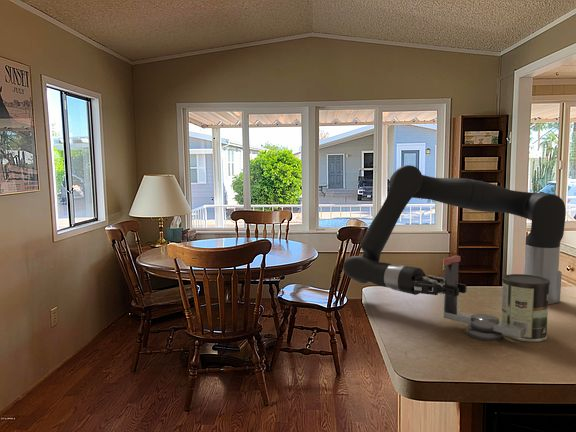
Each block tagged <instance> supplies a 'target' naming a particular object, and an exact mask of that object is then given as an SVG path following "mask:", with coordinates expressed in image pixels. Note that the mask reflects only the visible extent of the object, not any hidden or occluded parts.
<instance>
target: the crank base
mask: <svg viewBox="0 0 576 432" xmlns="http://www.w3.org/2000/svg"><path fill="white" fill-rule="evenodd" d="M466 334H467V336H468V337H471V338H472V339H475V340H479V341H485V342H486V341H487V342H495V341H500V340H502V338H503V334H502V333H500V332H481V331H477V330H474V329H472V328H471V327H470V324H467V325H466Z"/></svg>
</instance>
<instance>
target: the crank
mask: <svg viewBox="0 0 576 432" xmlns="http://www.w3.org/2000/svg"><path fill="white" fill-rule="evenodd" d="M459 262H461V256H460V255H456V254H455V255H452V256H448V257H445V258H443V265H444V267H445V269H444V270H445V271H444V276H445V285H449V286H454V287H458V283H459V267H460V266H459V265H460V263H459ZM443 296H444V298H443V299H444V303H443V304H444V306H443V318H445V319H447V320H452V321H455V322H458V323H463V324H465V325H466V324H467V325H469V324H470V327H471V328H472V329H474V330H477V331H481V332H500V333H504V334H508V335H511V336H515V337H519V338H521V337H522V336H524V335H525V333H526V328H524V327H520V326H516V325H512V324H508V323H504V322H501V321H500V319H499V318H498V317H496V316H495V315H494V316H493V315H491V314H485V313H476V314H471V313H467V312H463V311H458V296H459V295H458V296H453V295H448V294H444V295H443ZM504 334H503V335H504Z"/></svg>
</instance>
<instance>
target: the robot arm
mask: <svg viewBox="0 0 576 432" xmlns="http://www.w3.org/2000/svg"><path fill="white" fill-rule="evenodd" d="M414 198H415V199H421V200H423V199H424V200H430V201H433V202H438V203H442V204H444V205H449V206H453V207H458V208H461V209H462V208H463V209H466V210H473V211H478V212H484V213H487V212H488V213H504V214H510V215H514V216H518V217H521V218H524V219H528V221H531V226H530V231H529V233H528V234H527V235H526V236H525V245H524V246H525V247H524V266H523V274H524V275H533V276H539V277H543V278H546V279H548V280H549V281H550V285H549V298H548V305H555V304H556V303H561V293H562V291H561V290H562V289H561V288H562V275H563V274H562V273H563V272H562V271H561V270H559V268H560V254H561V251H560V249H561V242H562V239H563V238H564V234H565V233H564V232H565V225H566V224H565V223H566V214H567V211H566V210H567V209H566V205H565V201H564V200H563V199H562V197H560V196H558V195H556V194H553V193H548V192H547V193H545V192H531V191H530V192H529V191H518V190H511V189H508V188H506V187H502V186H500V185H497V184H494V183H490V182H486V181H483V180H477V179H471V178H464V177H462V178H461V177H434V176H428V175H425V174H422V172H421V171H420V169H419V168H418V167H417V166H414V165H411V164H409V165H403V166H400V167H398V168H397V169H396V170H395V171H394V172H393V174H392V175H391V176H390V179H389V192H388V193H387V196H386V199H385V200H384V202H383V204H382V205H381V207H380V209H379V211H378V212H377V213H376V215H375V216H374V219H373V220H372V222H371V223H370V225H369V227H368V228H367V230H366V232H365V233H364V236H363V238H362V239H361V241H360V244H359V246H360V247H359V248H361V250H362V251H363V252H362V253H363V254H362V256H360V255H352V256H349V257H348V258H346V259H345V260H344V261H343V266H342V267H343V269H342V270H343V272H344V274H345V275H346V276H347V277H348V278H350V279H353V281H356V282H358V283H360V284H368V283H372V284H373V285H376V286H379V287H383V288H387V289H391V290H393V291H397V292H400V293H401V292H402V293H406V294H410V295H414V296H415V295H416V296H418V295H420V294H423V295H432V296H438V295H445V294H448V295H453V296H459V295H460V294H465V293H467V285H466V284H465V283H459V282H458V287H454V286H449V285H445V275H441V274H439V275H438V276H435V275H433V274H432V275H431V274H427V275H426V274H425V272H424V270H423V269H422V268H420V267H417V266H416V267H415V266H410V265H405V264H398V263H397V264H394V263H388V262H380V260H381V259H380V258H381V254H382V251H383V250H384V248H385V246H386V244H387V243H388V241H389V239H390V236H392V235H391V234H392V233H393V231H394V229H395V227H396V225H397V223H398V220H399V218H400V217H401V215H402V213H403V211H404V210H405V209H406V207H407V205H408V203H409V202H410V201H411V199H414Z"/></svg>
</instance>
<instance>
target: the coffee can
mask: <svg viewBox="0 0 576 432" xmlns="http://www.w3.org/2000/svg"><path fill="white" fill-rule="evenodd" d="M501 279H502V294H501V295H502V299H501V321H500V322H504V323H508V324H512V325H516V326H520V327H524V328H526V333H525V335H524V336H522V337H521V338H519V337H515V336H511V335H508V334H504V333H502V335H504V336H505V337H507V338H509V339H513V340H515V341H516V340H517V341H523V342H528V343H529V342H531V343H533V342H534V343H536V342H537V343H539V342H544V341H546V340H547V338H548V313H549V304H548V298H549V285H550V281H549V280H548V279H546V278H543V277H539V276H533V275H524V273H512V274H506V275H503V276H502V278H501Z"/></svg>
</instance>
